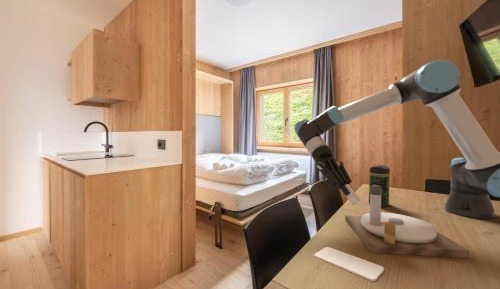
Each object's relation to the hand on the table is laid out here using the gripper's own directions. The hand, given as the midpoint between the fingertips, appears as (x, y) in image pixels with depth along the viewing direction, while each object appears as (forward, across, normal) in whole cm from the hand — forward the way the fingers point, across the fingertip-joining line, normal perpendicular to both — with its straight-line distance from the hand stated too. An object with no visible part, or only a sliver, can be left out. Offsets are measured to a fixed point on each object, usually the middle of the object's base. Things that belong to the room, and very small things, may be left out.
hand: (356, 202), depth 76 cm
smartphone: (+15, +19, +1) cm, 25 cm away
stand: (+13, -7, 0) cm, 15 cm away
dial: (+11, -7, +1) cm, 14 cm away
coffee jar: (-3, -37, -17) cm, 41 cm away
